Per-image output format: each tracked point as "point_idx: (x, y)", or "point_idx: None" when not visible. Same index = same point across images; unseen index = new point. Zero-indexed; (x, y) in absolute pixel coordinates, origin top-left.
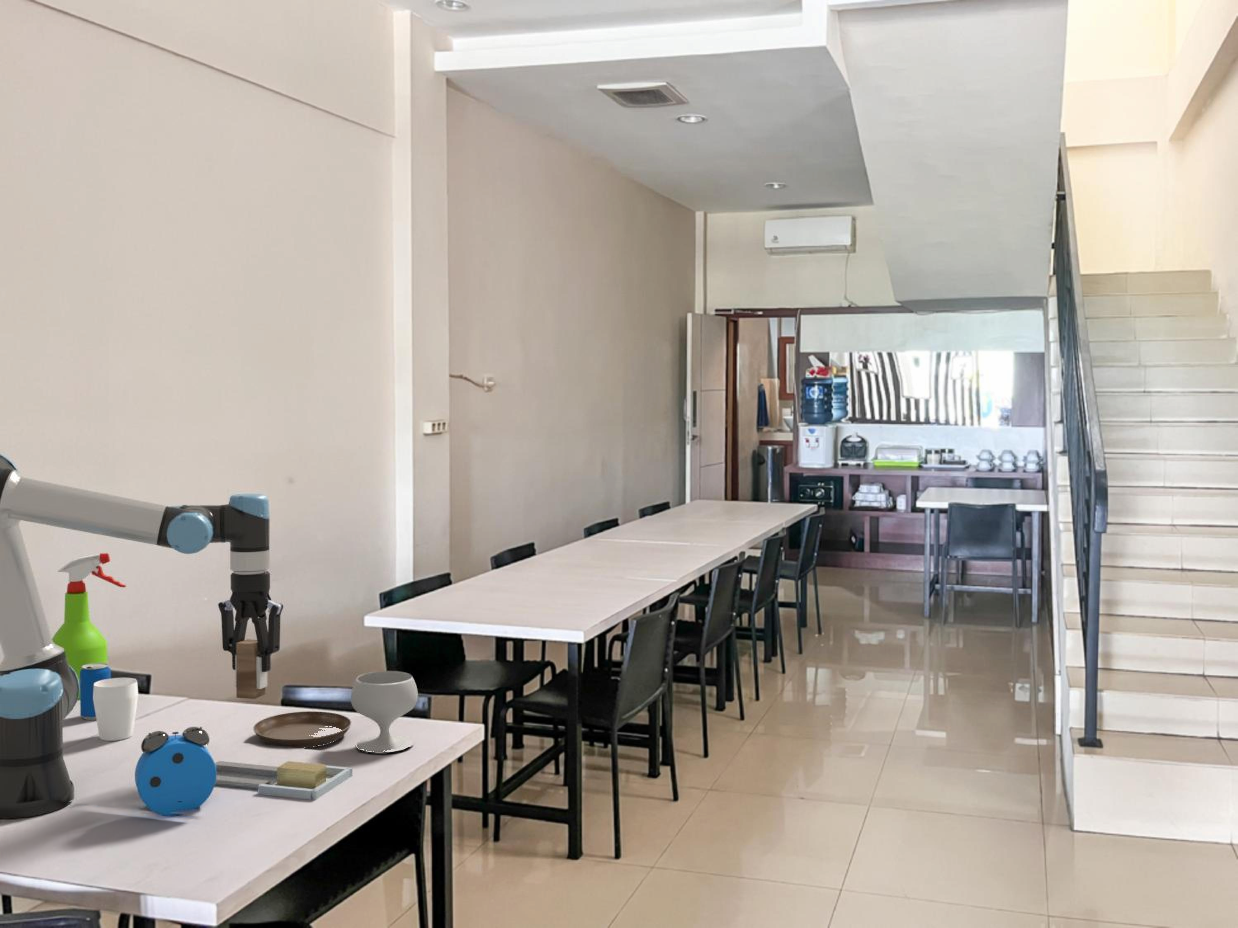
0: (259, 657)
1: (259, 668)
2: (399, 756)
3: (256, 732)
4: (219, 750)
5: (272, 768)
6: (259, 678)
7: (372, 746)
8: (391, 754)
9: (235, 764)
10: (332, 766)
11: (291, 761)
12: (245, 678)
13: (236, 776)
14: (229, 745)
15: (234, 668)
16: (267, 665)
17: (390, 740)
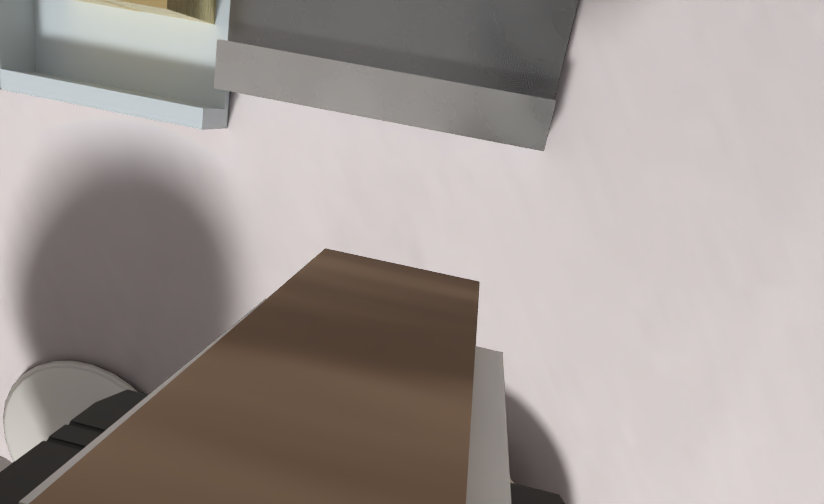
0: (30, 494)
1: (154, 391)
2: (5, 346)
3: (511, 482)
4: (631, 391)
5: (284, 75)
6: (221, 336)
7: (93, 403)
8: (36, 365)
9: (455, 110)
10: (58, 96)
11: (151, 5)
12: (363, 329)
13: (417, 20)
14: (612, 448)
15: (541, 501)
16: (58, 444)
17: (46, 439)
